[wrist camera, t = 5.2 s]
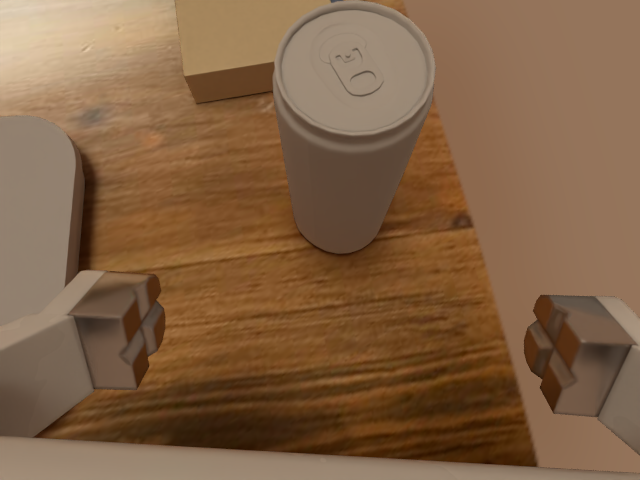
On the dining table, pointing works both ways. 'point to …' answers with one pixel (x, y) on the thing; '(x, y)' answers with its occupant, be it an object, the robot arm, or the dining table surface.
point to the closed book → (234, 43)
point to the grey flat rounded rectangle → (37, 214)
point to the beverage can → (349, 116)
